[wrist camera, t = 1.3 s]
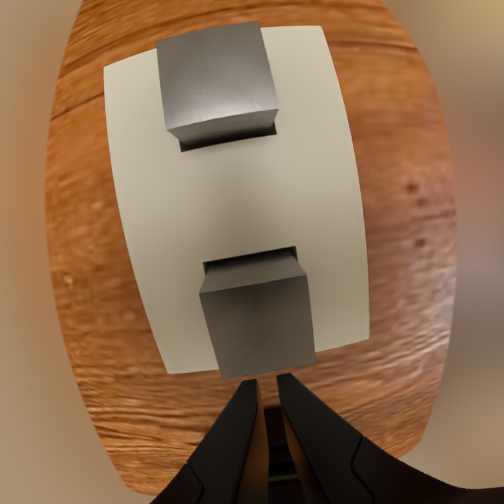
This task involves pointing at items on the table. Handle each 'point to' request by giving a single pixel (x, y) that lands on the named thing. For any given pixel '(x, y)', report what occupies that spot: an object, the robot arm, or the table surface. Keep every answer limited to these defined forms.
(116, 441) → the table surface
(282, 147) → the bore block
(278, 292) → the peg
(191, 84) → the peg
